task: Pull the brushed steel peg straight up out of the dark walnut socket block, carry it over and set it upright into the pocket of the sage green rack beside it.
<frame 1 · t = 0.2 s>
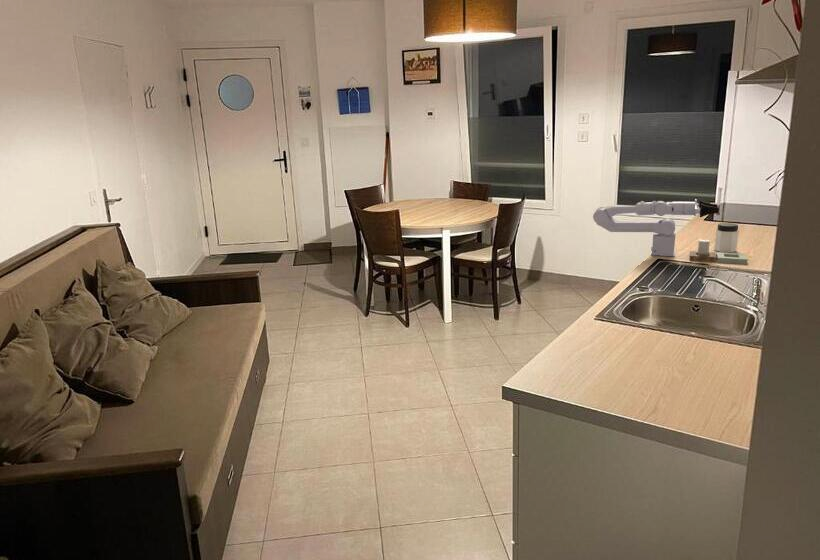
hand: (718, 208, 260), 21 cm above the counter, tool horizontal, fingers open, 7 cm apart
socket block: (702, 258, 263), on the counter
jar: (725, 251, 277), on the counter
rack: (730, 260, 259), on the counter
peg: (703, 249, 262), in the socket block
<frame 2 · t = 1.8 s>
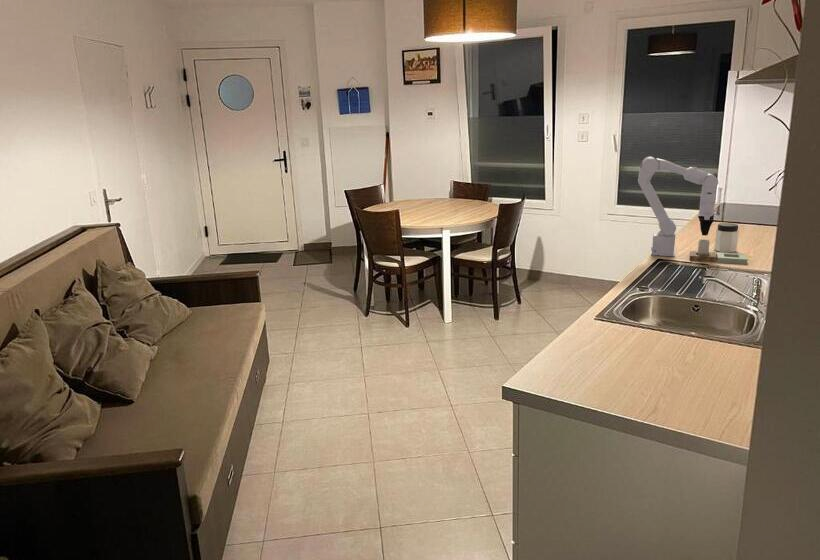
hand: (704, 233, 266), 10 cm above the counter, tool pointing down, fingers open, 7 cm apart
nothing on the counter moved.
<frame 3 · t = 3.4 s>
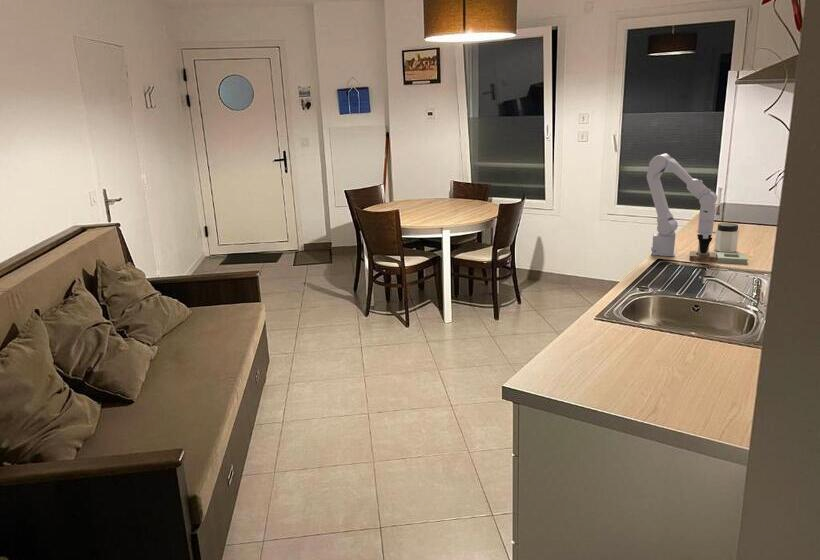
hand: (703, 252, 263), 3 cm above the counter, tool pointing down, fingers closed on peg, 4 cm apart
peg: (703, 249, 262), in the socket block, touching gripper
everything else where it was.
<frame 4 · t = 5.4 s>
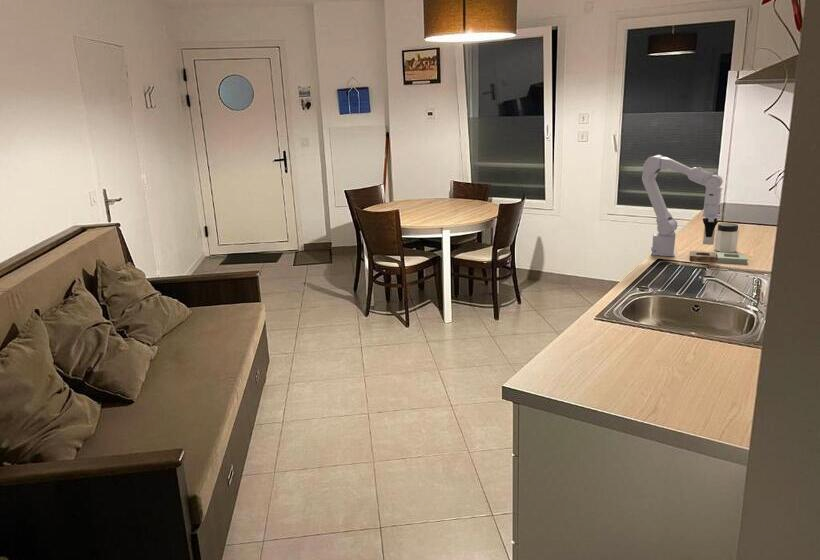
hand: (708, 236, 260), 10 cm above the counter, tool pointing down, fingers closed on peg, 4 cm apart
peg: (709, 234, 260), point 11 cm above the counter, touching gripper
everything else where it was.
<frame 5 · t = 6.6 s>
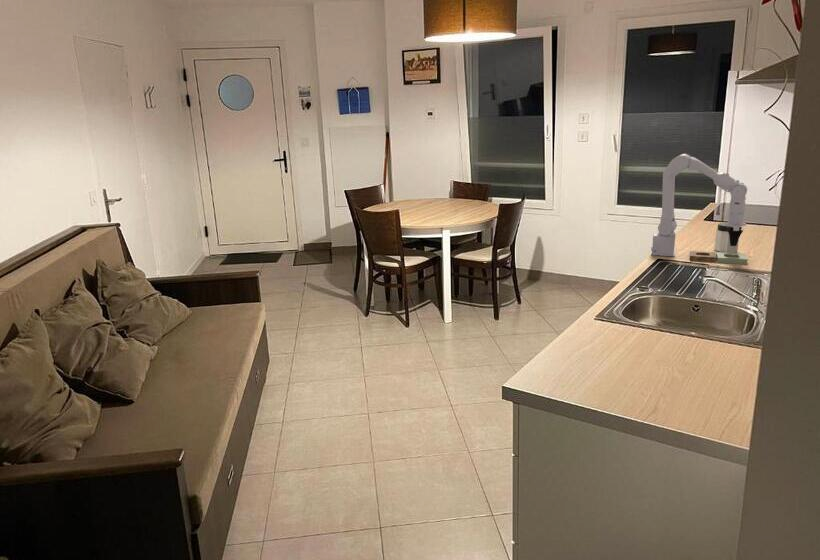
hand: (732, 244, 257), 7 cm above the counter, tool pointing down, fingers closed on peg, 4 cm apart
peg: (732, 243, 257), point 7 cm above the counter, touching gripper
everything else where it was.
when the fingers open (4 cm above the counter, at t = 7.5 s): peg stays where it is, resting in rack.
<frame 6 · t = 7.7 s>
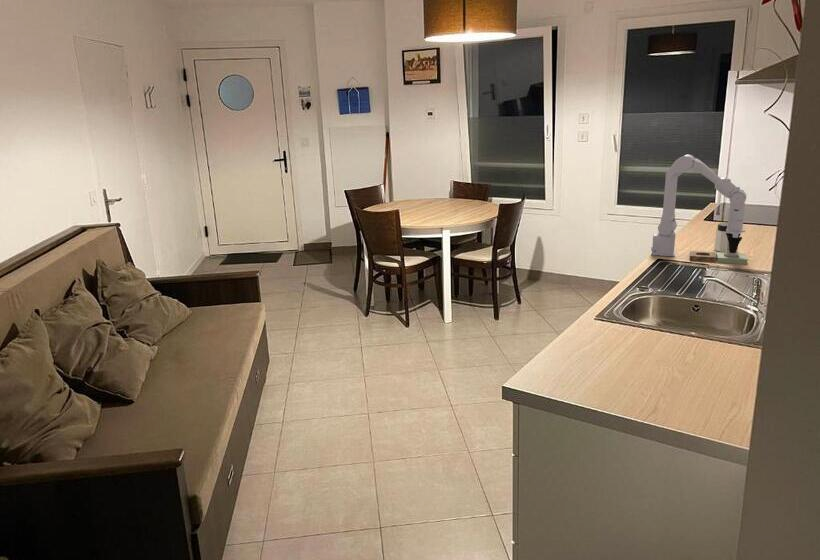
hand: (732, 251, 258), 4 cm above the counter, tool pointing down, fingers open, 5 cm apart
peg: (731, 251, 258), in the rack
everything else where it was.
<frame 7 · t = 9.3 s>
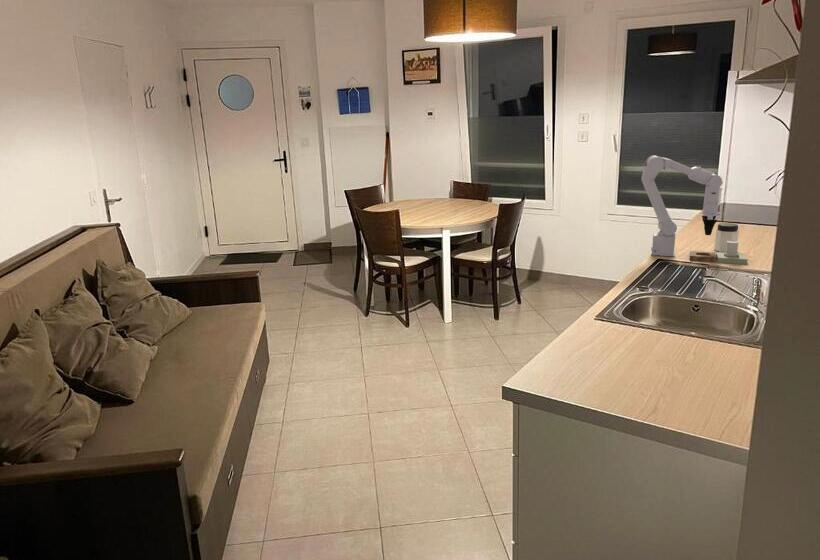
hand: (707, 233, 266), 10 cm above the counter, tool pointing down, fingers open, 7 cm apart
nothing on the counter moved.
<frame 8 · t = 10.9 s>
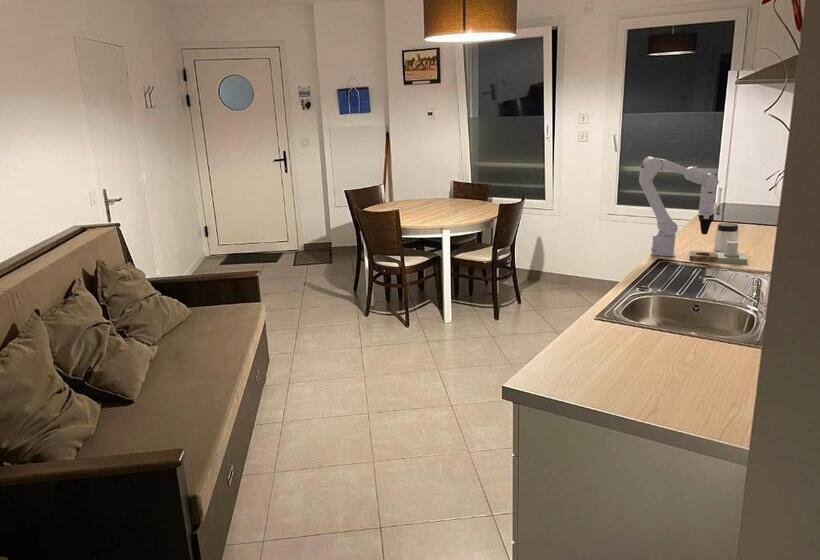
hand: (703, 232, 268), 10 cm above the counter, tool pointing down, fingers open, 7 cm apart
nothing on the counter moved.
at the end: peg 0.2 cm off-centre on the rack, point 4.0 cm above the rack's base; peg tilted 0°; the gripper is holding nothing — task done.
